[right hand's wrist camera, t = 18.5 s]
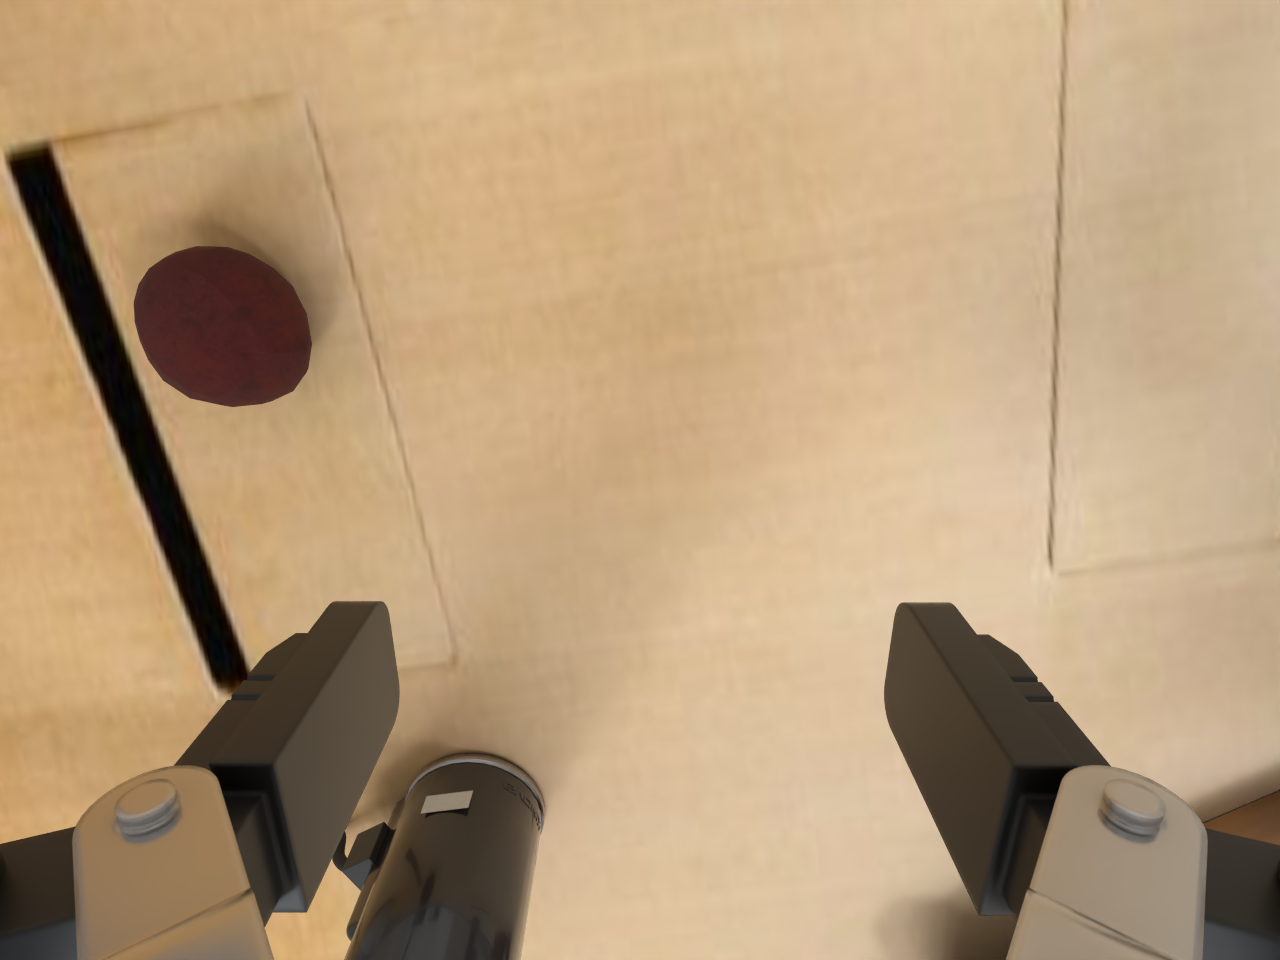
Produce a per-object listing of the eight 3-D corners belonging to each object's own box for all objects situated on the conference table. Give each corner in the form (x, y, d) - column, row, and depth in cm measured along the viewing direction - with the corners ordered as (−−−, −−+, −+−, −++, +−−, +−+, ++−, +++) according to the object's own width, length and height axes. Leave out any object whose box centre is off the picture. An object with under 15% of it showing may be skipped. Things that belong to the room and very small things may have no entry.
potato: (255, 210, 36) (170, 213, 30) (366, 337, 38) (309, 365, 32) (157, 301, 38) (56, 323, 31) (269, 417, 40) (196, 461, 33)
